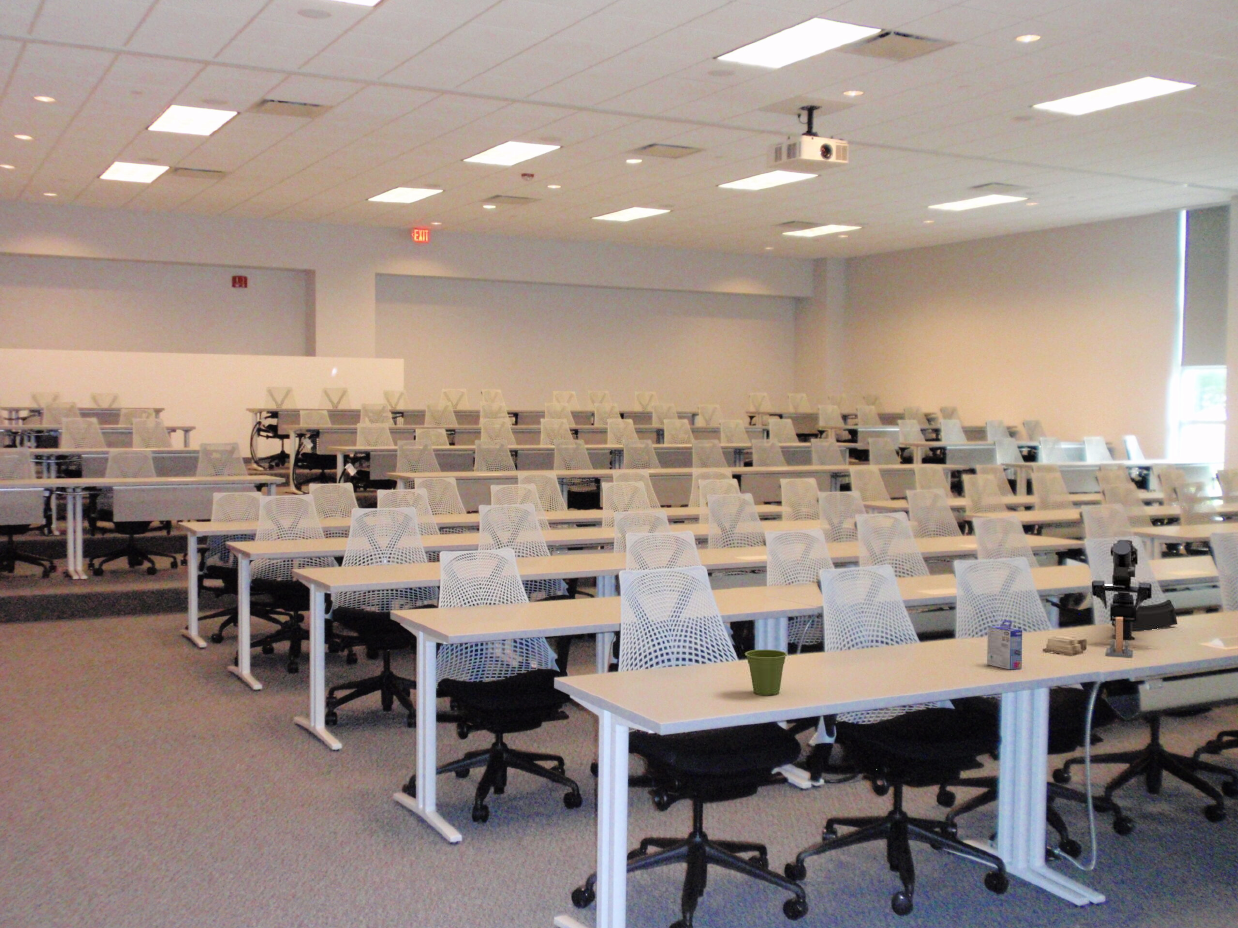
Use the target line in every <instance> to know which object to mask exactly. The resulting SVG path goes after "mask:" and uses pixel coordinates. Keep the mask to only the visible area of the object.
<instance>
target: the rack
mask: <svg viewBox="0 0 1238 928" xmlns="http://www.w3.org/2000/svg"><path fill="white" fill-rule="evenodd" d="M1087 644H1088V643H1087V638H1081V639H1078V638H1076V637H1075V636H1074V637H1065V636H1060V635H1059V636H1057V635H1056V636H1052V637H1047V643H1046V644H1045V645H1046V647H1045V648H1042V652H1043V651H1046V652H1045V653H1047V652H1053V653H1052V654H1054V653H1059V654H1058V655H1060V654H1064V655H1063V656H1067V655H1069V657H1073V656H1076V655H1077V654H1078V655H1080V654H1081V653H1082V654H1084V651H1086V649H1087V648H1088V647H1087ZM1082 654H1081V655H1082ZM1072 655H1073V656H1072Z"/></svg>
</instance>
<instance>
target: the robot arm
mask: <svg viewBox="0 0 1238 928" xmlns="http://www.w3.org/2000/svg"><path fill="white" fill-rule="evenodd" d="M1112 545H1113V546H1110V547H1111V548H1110V557H1112V563H1113V569H1112V571H1113V572H1112V580H1111V582H1112V584H1105V580H1092V582H1091V594H1092V596H1094V597H1096V598H1097V599H1099V600H1100V601H1101V602H1102V604H1103V607H1104V609H1105V610H1107V608H1108V603H1107V595H1106V592H1114V594H1113V597H1112V603H1110V606H1109V611H1110V613H1109V615H1110V621H1111V622H1112V621H1115V627H1114V634H1111V637H1113V638H1114V640H1116V618H1115V617H1124V618H1123V640H1135V639H1136V638H1135V637H1134V636H1133V631H1132V622H1138V607H1139V606H1141V604H1142V603H1143V602H1145V601H1148V600H1150V599H1152V598H1153V597H1152V596H1153V595H1152V590H1153V589H1152V583H1151V582H1140V581H1139V582H1138V586H1132V585H1131V584H1132V578H1135V577H1136V566H1138V564H1139V563H1138V559H1139V557H1138V556H1139V553H1138V549H1137V548H1136V547H1135V546H1134V545H1133V540H1131V539H1119V540H1117V542H1116V543H1113V544H1112ZM1115 592H1116V593H1115ZM1133 594H1136V599H1134V595H1133ZM1133 617H1134V619H1132V618H1133Z"/></svg>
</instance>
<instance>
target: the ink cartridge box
mask: <svg viewBox="0 0 1238 928" xmlns="http://www.w3.org/2000/svg"><path fill="white" fill-rule="evenodd" d="M1005 623H1008V624H1005ZM1012 624H1013V620H1009V619H1003V621H1002V622H1001V625H995V626H994V625H992V626H991V625H990V626H987V646H986V648H987V649H986V650H987V651H986V665H987V664H988V665H987V666H992V667H996V668H997V667H998V668H1001V669H1006V670H1020V669H1021V668H1022V667H1023V665H1022V664H1023V663H1022V661H1023V659H1022V658H1023V630H1022V629H1021V628H1020V629H1019V628H1013V627H1011V626H1012Z"/></svg>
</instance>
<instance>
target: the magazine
mask: <svg viewBox="0 0 1238 928" xmlns="http://www.w3.org/2000/svg"><path fill="white" fill-rule="evenodd" d="M1176 614H1177V613H1176V610H1175V606H1174V604H1173V603H1172V600H1171V599H1167V600H1165V601H1162V602H1160V603H1154V604H1149V605H1148V604H1146V605H1140V606H1139V607H1138V622H1132V632H1139V631H1140V632H1141V631H1142V632H1143V631H1144V630H1147V631H1153V630H1152V629H1157V628H1161V629H1164V627H1165V628H1167V627H1172V626H1175V625H1176V626H1177V625H1178V619H1177V615H1176ZM1115 618H1116V617H1115ZM1123 618H1124V617H1123ZM1132 619H1134V617H1133V618H1132ZM1111 626H1112V627H1114V628H1115V621H1111ZM1157 630H1158V629H1157ZM1144 632H1145V631H1144Z"/></svg>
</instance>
